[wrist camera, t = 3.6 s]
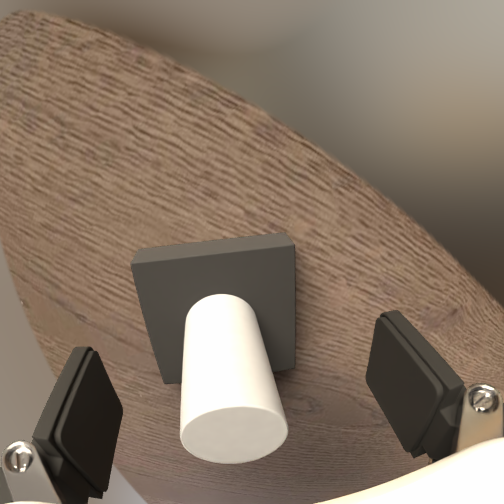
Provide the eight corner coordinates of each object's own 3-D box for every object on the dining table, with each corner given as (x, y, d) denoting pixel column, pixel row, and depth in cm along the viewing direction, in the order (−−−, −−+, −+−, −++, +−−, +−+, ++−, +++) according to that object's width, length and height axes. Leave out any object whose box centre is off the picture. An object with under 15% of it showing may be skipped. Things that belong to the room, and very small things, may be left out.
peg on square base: (137, 248, 12) (80, 362, 5) (285, 231, 13) (363, 330, 6) (166, 364, 14) (156, 489, 8) (287, 349, 15) (333, 467, 8)
